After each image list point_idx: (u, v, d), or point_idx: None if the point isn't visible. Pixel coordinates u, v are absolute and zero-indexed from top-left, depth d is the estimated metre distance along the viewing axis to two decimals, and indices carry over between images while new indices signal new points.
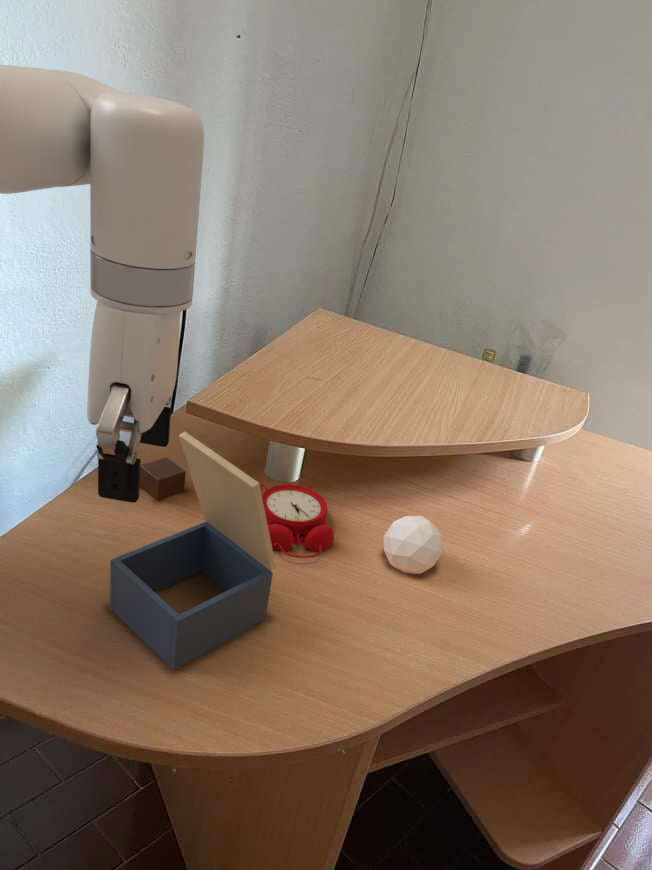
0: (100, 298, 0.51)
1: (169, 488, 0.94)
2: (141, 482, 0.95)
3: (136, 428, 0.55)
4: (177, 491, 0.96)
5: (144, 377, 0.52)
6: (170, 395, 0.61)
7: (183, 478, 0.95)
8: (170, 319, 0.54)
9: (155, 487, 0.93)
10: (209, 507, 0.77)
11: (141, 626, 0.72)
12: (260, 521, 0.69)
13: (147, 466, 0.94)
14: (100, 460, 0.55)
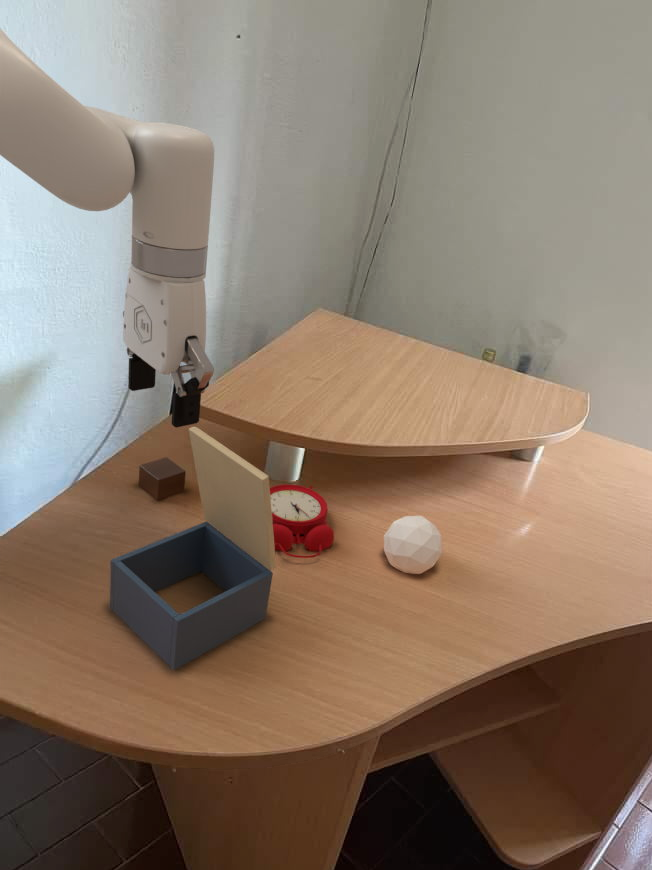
0: (165, 278, 0.69)
1: (169, 488, 0.94)
2: (141, 482, 0.95)
3: None
4: (177, 491, 0.96)
5: (204, 327, 0.73)
6: None
7: (183, 478, 0.95)
8: None
9: (155, 487, 0.93)
10: (211, 505, 0.77)
11: (141, 626, 0.72)
12: (266, 516, 0.69)
13: (147, 466, 0.94)
14: (176, 399, 0.75)
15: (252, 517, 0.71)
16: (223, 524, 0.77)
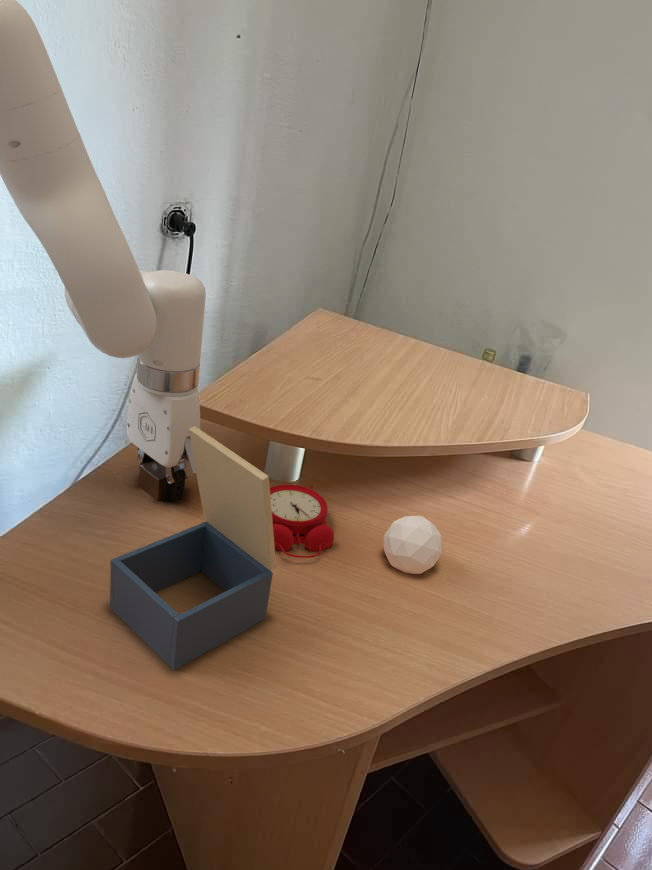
0: (167, 394, 0.85)
1: None
2: (141, 482, 0.95)
3: None
4: None
5: (199, 427, 0.89)
6: None
7: None
8: None
9: (155, 487, 0.93)
10: (211, 505, 0.77)
11: (141, 626, 0.72)
12: (266, 516, 0.69)
13: (147, 466, 0.94)
14: (166, 485, 0.92)
15: (252, 517, 0.71)
16: (223, 524, 0.77)
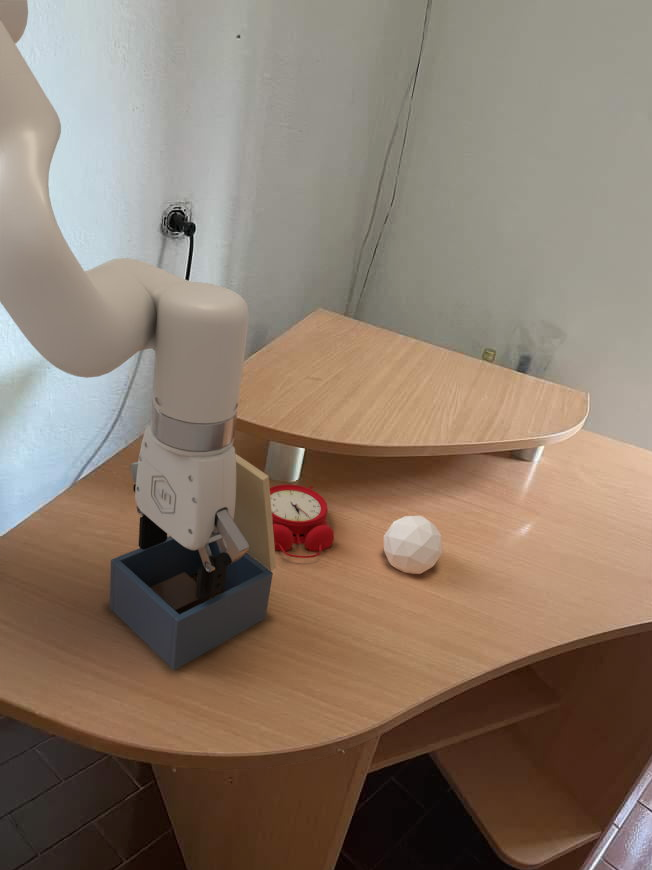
0: (193, 453, 0.61)
1: None
2: None
3: None
4: None
5: (234, 495, 0.65)
6: None
7: None
8: None
9: None
10: None
11: (141, 626, 0.72)
12: (266, 516, 0.69)
13: (160, 589, 0.73)
14: (203, 573, 0.67)
15: (252, 517, 0.71)
16: None
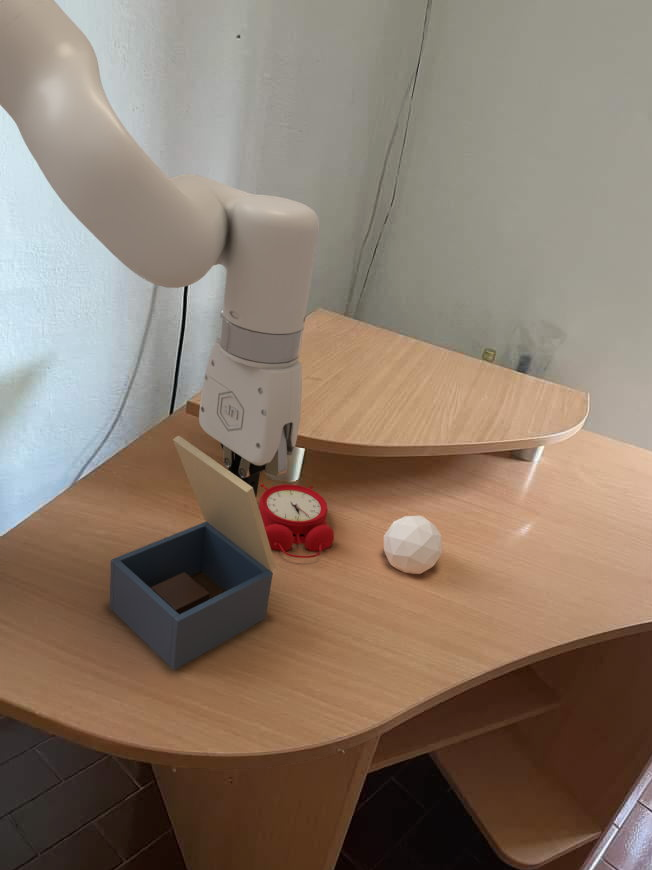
0: (264, 365, 0.63)
1: None
2: None
3: (287, 453, 0.69)
4: None
5: (299, 412, 0.67)
6: None
7: None
8: None
9: None
10: (207, 508, 0.77)
11: (141, 626, 0.72)
12: (256, 524, 0.69)
13: (160, 589, 0.73)
14: None
15: (245, 523, 0.71)
16: (221, 526, 0.77)
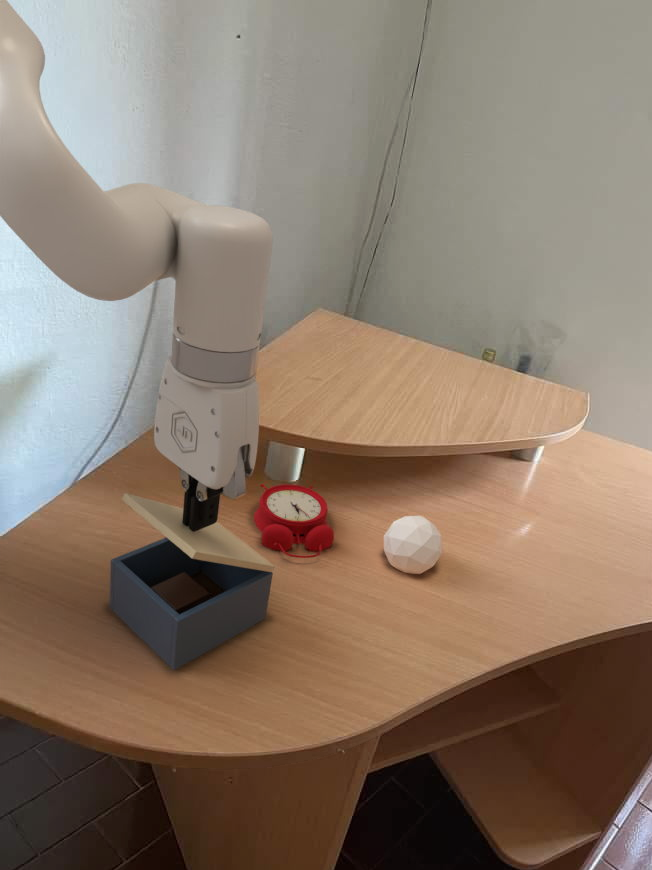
0: (216, 385, 0.59)
1: None
2: None
3: (246, 475, 0.66)
4: None
5: (257, 432, 0.63)
6: None
7: None
8: None
9: None
10: None
11: (141, 626, 0.72)
12: None
13: (160, 589, 0.73)
14: (195, 503, 0.68)
15: None
16: None
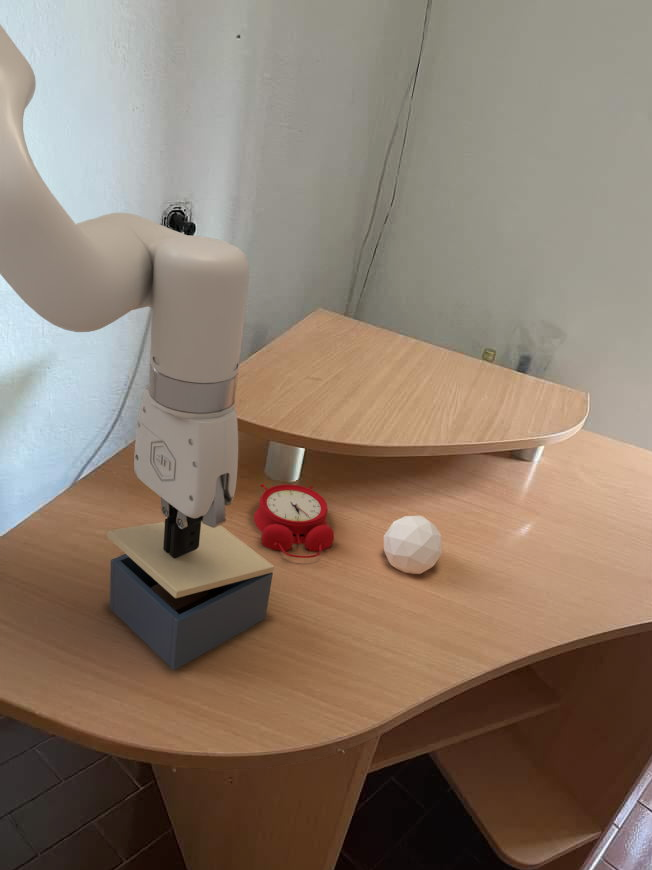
0: (193, 415, 0.59)
1: None
2: None
3: (225, 503, 0.65)
4: None
5: (236, 461, 0.63)
6: None
7: None
8: None
9: None
10: None
11: (141, 626, 0.72)
12: (215, 587, 0.68)
13: (160, 589, 0.73)
14: (176, 530, 0.67)
15: None
16: None
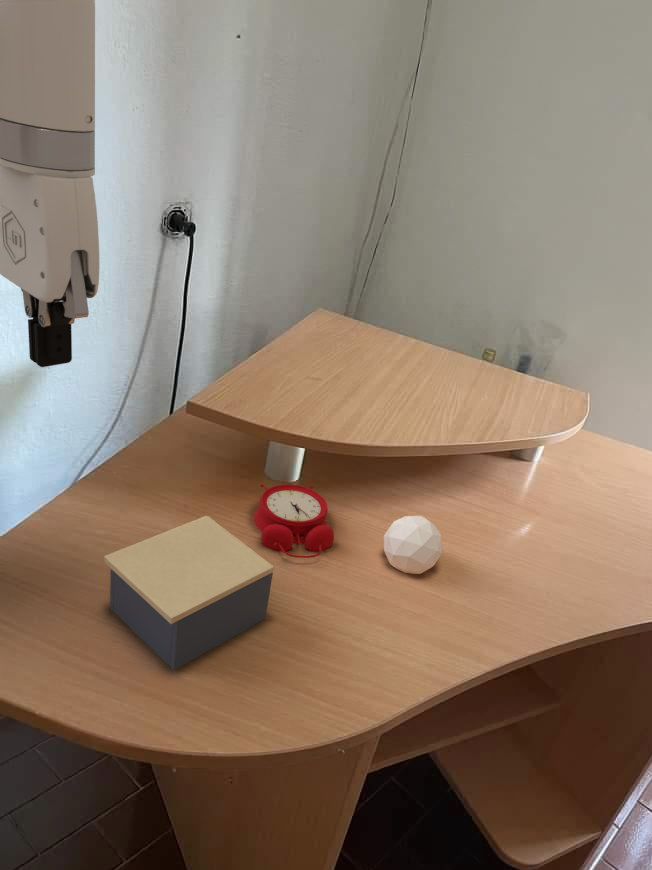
0: (37, 170, 0.53)
1: None
2: None
3: (89, 294, 0.59)
4: None
5: (96, 239, 0.57)
6: None
7: None
8: None
9: None
10: None
11: (141, 626, 0.72)
12: None
13: None
14: (39, 330, 0.61)
15: None
16: None
